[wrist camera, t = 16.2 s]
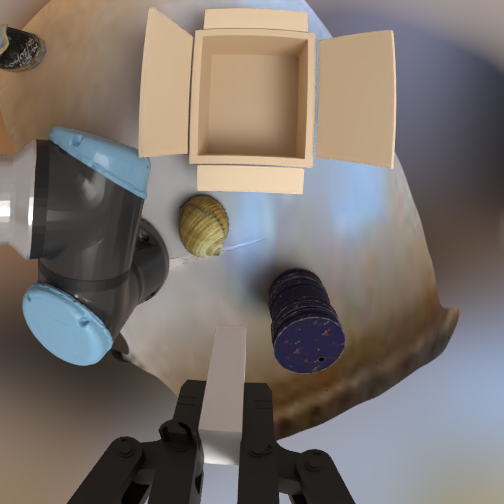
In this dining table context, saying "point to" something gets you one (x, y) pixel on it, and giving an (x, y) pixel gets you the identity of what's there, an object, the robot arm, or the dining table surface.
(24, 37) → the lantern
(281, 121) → the carton
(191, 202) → the seashell
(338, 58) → the flap
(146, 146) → the flap
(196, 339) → the dining table surface
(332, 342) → the dark blue barrel
